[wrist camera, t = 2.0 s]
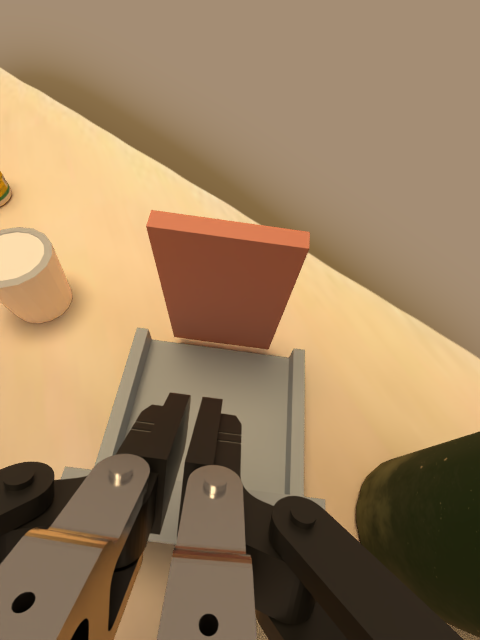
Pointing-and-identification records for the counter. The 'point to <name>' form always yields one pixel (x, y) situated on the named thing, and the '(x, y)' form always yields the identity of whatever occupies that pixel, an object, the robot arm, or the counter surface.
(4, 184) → the supplement bottle
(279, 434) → the tray
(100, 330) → the counter surface
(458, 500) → the green water bottle
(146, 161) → the counter surface
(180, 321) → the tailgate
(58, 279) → the tan cylinder
